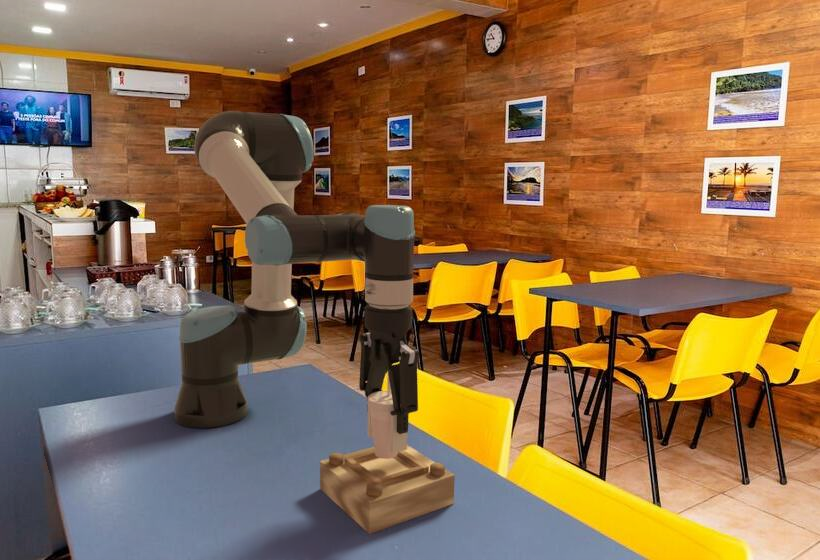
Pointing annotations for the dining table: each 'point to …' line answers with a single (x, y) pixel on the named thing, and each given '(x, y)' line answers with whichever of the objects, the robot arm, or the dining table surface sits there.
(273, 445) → the dining table surface
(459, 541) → the dining table surface
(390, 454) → the smoothie
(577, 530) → the dining table surface
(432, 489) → the base brick
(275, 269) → the robot arm
